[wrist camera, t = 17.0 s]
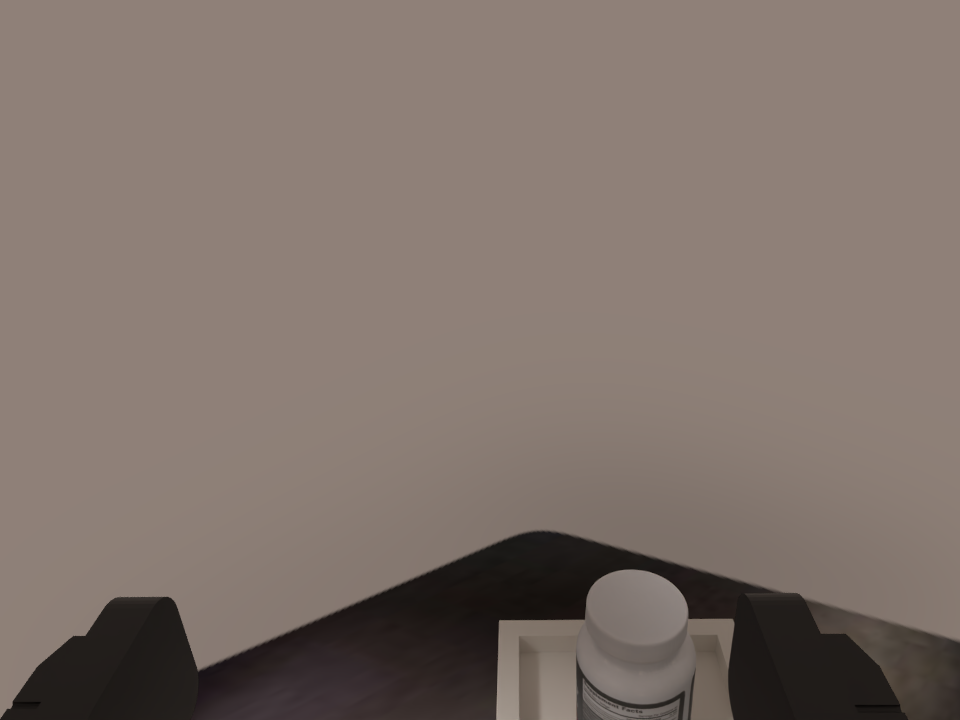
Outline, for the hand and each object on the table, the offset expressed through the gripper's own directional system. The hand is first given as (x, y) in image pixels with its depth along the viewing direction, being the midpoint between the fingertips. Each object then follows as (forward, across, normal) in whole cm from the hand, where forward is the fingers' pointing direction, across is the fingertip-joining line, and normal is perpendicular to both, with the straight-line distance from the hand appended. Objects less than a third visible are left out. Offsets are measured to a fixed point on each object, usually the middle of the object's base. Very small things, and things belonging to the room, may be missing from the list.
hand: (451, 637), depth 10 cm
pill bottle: (+18, -6, +28) cm, 33 cm away
